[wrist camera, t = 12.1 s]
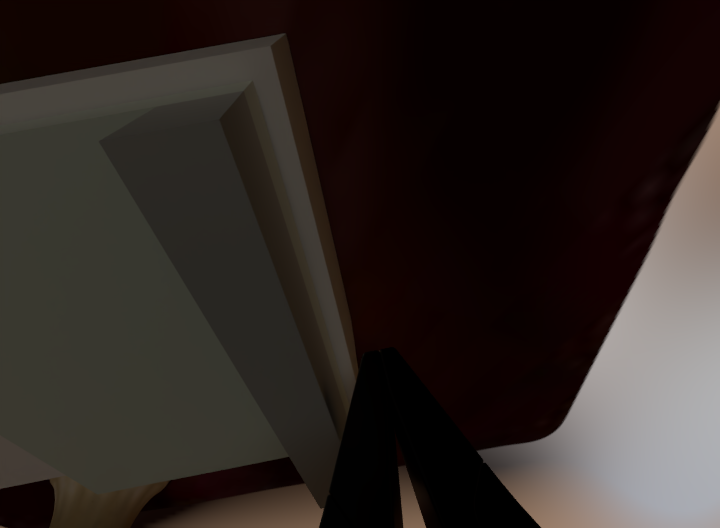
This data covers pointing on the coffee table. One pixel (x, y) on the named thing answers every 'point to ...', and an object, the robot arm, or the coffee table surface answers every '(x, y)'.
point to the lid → (160, 297)
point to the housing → (288, 137)
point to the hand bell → (98, 505)
